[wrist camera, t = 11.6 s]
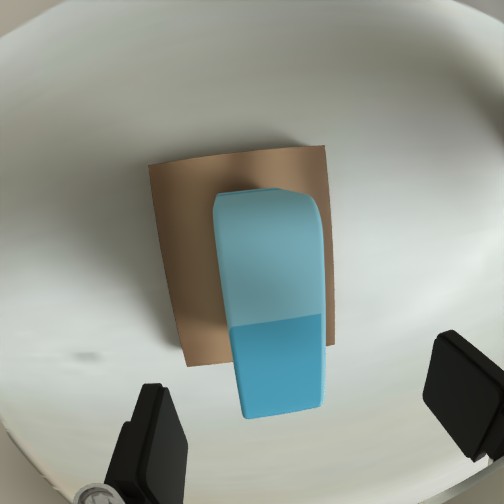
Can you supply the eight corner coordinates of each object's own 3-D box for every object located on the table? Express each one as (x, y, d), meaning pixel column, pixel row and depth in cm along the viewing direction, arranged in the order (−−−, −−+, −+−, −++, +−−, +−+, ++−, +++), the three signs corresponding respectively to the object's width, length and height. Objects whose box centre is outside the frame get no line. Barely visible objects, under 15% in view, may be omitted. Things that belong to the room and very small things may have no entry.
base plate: (313, 148, 26) (324, 145, 24) (325, 330, 31) (334, 344, 28) (156, 166, 26) (148, 165, 23) (189, 350, 30) (186, 366, 27)
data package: (215, 192, 24) (210, 208, 12) (273, 186, 24) (322, 196, 12) (234, 332, 27) (245, 431, 15) (285, 325, 27) (324, 417, 15)
